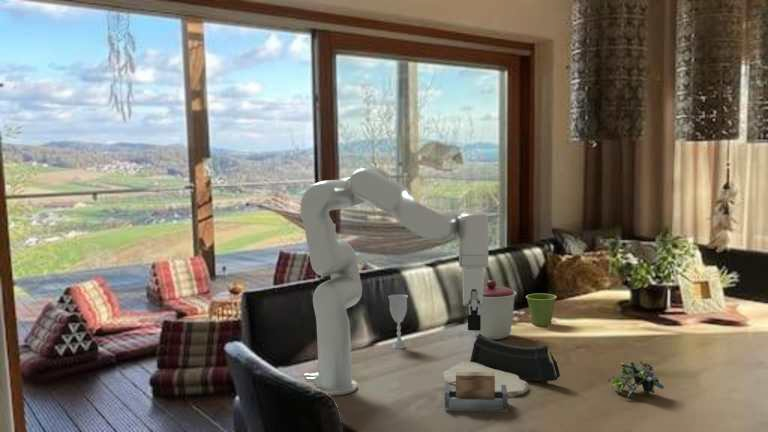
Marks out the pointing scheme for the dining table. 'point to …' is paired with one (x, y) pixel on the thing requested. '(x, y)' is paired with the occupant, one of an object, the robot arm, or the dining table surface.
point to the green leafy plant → (636, 378)
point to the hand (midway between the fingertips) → (473, 325)
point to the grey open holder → (476, 402)
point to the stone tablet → (501, 378)
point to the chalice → (398, 315)
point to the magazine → (516, 359)
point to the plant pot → (541, 308)
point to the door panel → (475, 384)
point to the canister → (496, 311)
